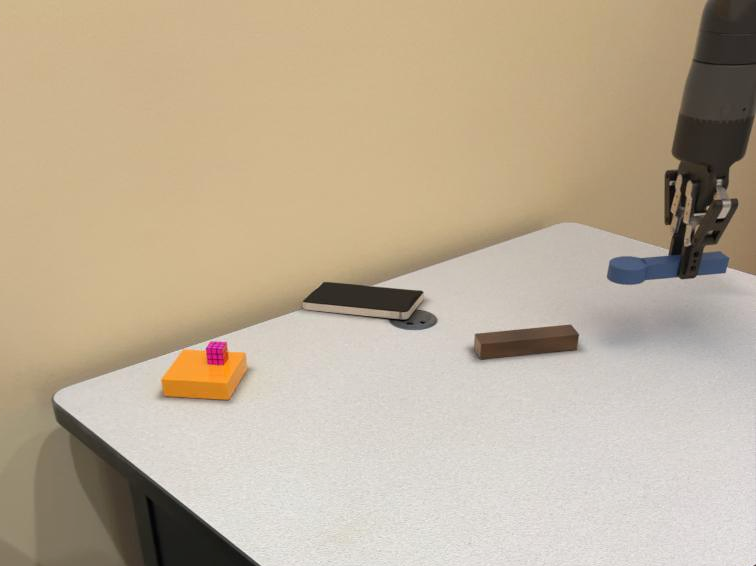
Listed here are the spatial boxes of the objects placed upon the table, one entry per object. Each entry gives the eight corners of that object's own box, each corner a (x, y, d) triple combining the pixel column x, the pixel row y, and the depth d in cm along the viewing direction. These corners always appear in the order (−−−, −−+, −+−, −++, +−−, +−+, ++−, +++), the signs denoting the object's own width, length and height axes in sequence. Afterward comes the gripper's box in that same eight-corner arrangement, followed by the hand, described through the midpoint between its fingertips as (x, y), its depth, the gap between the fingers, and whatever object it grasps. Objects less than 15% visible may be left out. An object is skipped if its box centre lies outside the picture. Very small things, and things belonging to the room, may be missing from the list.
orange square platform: (228, 400, 103) (224, 366, 100) (163, 396, 104) (157, 362, 102) (247, 369, 109) (244, 336, 106) (185, 366, 110) (180, 333, 107)
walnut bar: (568, 339, 110) (571, 324, 109) (577, 349, 108) (579, 334, 107) (473, 349, 110) (474, 333, 108) (479, 359, 107) (481, 343, 106)
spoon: (712, 263, 107) (716, 248, 105) (729, 276, 103) (734, 260, 102) (601, 272, 106) (603, 257, 105) (614, 286, 103) (617, 271, 101)
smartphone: (323, 280, 127) (425, 290, 122) (323, 289, 127) (424, 298, 122) (301, 302, 121) (406, 312, 116) (301, 310, 122) (406, 321, 117)
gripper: (786, 120, 88) (739, 292, 100) (721, 92, 99) (686, 250, 110) (713, 126, 88) (674, 298, 99) (656, 97, 99) (627, 255, 110)
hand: (680, 272), depth 105 cm, fingers closed on spoon, 2 cm apart
